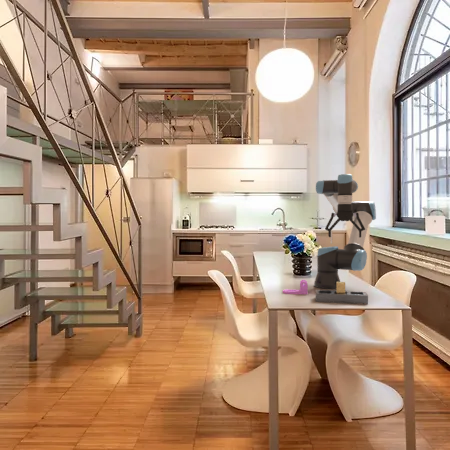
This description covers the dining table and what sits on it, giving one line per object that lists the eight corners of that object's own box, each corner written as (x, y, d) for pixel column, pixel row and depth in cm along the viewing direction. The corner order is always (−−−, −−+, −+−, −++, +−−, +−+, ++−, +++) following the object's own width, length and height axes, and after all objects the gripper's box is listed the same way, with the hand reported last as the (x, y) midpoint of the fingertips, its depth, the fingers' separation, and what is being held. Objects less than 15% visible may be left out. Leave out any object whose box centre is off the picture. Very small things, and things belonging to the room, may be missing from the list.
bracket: (307, 292, 214) (307, 279, 214) (307, 294, 208) (307, 281, 208) (282, 291, 216) (282, 279, 216) (282, 293, 211) (282, 280, 210)
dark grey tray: (315, 297, 200) (315, 289, 200) (365, 299, 195) (365, 291, 195) (315, 301, 191) (315, 293, 191) (368, 304, 186) (368, 295, 186)
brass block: (336, 299, 196) (336, 281, 196) (344, 300, 195) (344, 281, 195) (336, 301, 192) (336, 282, 192) (345, 301, 191) (345, 283, 191)
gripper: (320, 203, 208) (320, 243, 209) (370, 203, 203) (370, 244, 204) (320, 203, 216) (320, 242, 216) (368, 203, 210) (368, 243, 211)
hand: (344, 243), depth 210 cm, fingers open, 13 cm apart
